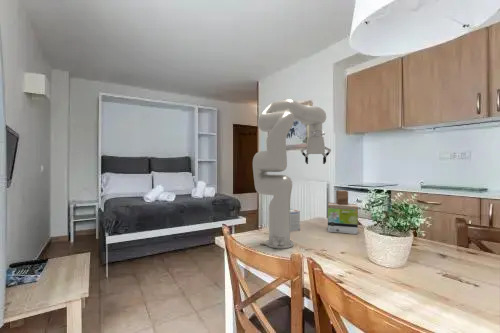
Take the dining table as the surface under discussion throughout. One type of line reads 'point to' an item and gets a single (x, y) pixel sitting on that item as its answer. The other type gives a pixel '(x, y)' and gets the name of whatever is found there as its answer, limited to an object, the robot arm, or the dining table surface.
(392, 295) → the dining table surface
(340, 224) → the tea box
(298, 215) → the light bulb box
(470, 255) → the dining table surface
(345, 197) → the walnut block
